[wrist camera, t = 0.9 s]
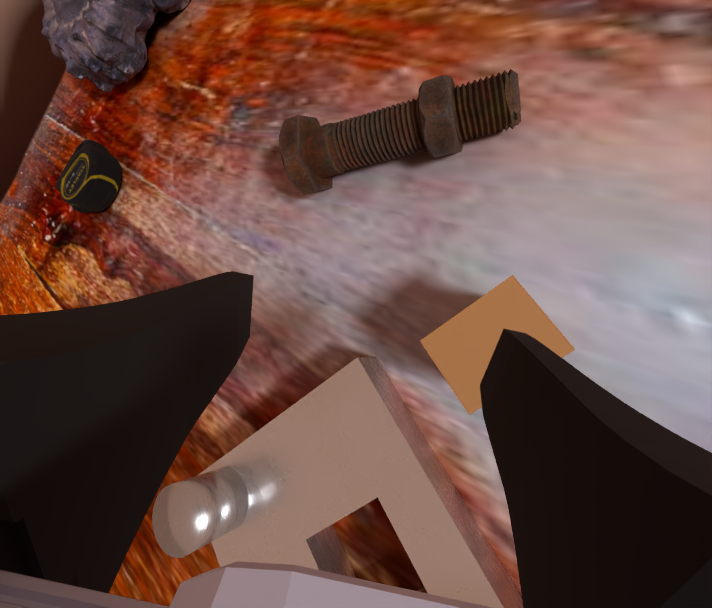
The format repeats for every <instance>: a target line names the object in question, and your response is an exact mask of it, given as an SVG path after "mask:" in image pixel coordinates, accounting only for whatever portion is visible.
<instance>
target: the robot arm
mask: <svg viewBox="0 0 712 608" xmlns="http://www.w3.org/2000/svg"><path fill="white" fill-rule="evenodd" d="M252 292H253V276H252V275H248V274H243V273H238V272H233V271H232V272H226V273H221V274H218V275H214V276H211V277H208V278H204V279H201V280H198V281H195V282H191V283H188V284H185V285H182V286H178V287H175V288H171V289H168V290H164V291H160V292H156V293H153V294H149V295H145V296H141V297H137V298H133V299H128V300H124V301H119V302H113V303H108V304H102V305H97V306H90V307H83V308H75V309H66V310H58V311H49V312H41V313H29V314H15V315H0V608H492V607H487V606H483V605H478V604H474V603H469V602H464V601H460V600H455V599H450V598H446V597H441V596H437V595H432V594H427V593H423V592H418V591H413V590H409V589H404V588H400V587H395V586H390V585H386V584H381V583H376V582H372V581H367V580H363V579H358V578H353V577H349V576H344V575H339V574H335V573H330V572H326V571H321V570H316V569H312V568H307V567H302V566H298V565H290V564H274V563H257V562H240V561H237V562H234V563H231V564H228V565H225V566H222V567H220V568H217V569H214V570H211V571H208V572H205V573H203V574H200V575H197V576H195V577H193V578H191V579H188V580H186V581H184V582H182V583H181V584H180V586H179V588H178V590H177V592H176V594H175V596H174V598H173V600H172V602H171V604H170V606H169V607H168V606H164V605H159V604H155V603H150V602H145V601H141V600H136V599H132V598H127V597H122V596H118V595H113V594H109V591H110V588H111V586H112V584H113V582H114V580H115V578H116V575H117V573H118V571H119V569H120V567H121V565H122V562H123V560H124V558H125V556H126V554H127V552H128V550H129V548H130V546H131V543H132V541H133V539H134V537H135V535H136V533H137V531H138V529H139V527H140V525H141V523H142V521H143V519H144V517H145V515H146V513H147V511H148V509H149V507H150V505H151V503H152V501H153V499H154V497H155V495H156V493H157V491H158V489H159V487H160V485H161V483H162V481H163V480H164V478H165V476H166V474H167V472H168V470H169V468H170V466H171V464H172V463H173V461H174V459H175V457H176V455H177V453H178V452H179V450H180V448H181V446H182V444H183V442H184V441H185V439H186V437H187V435H188V434H189V432H190V431H191V429H192V427H193V426H194V424H195V423H196V421H197V420H198V418H199V417H200V416H201V414H202V413H203V411H204V410H205V408H206V407H207V405H208V404H209V403H210V401H211V400H212V398H213V397H214V395H215V394H216V393H217V391H218V390H219V388H220V387H221V385H222V384H223V383H224V381H225V380H226V378H227V377H228V375H229V374H230V372H231V371H232V369H233V368H234V366H235V365H236V363H237V361H238V359H239V357H240V355H241V353H242V352H243V349H244V347H245V345H246V343H247V341H248V339H249V337H250V322H251V307H252ZM480 393H481V403H482V410H483V416H484V420H485V424H486V428H487V431H488V435H489V439H490V442H491V446H492V449H493V453H494V456H495V459H496V463H497V466H498V470H499V473H500V477H501V480H502V484H503V487H504V491H505V495H506V500H507V504H508V508H509V514H510V520H511V526H512V532H513V537H514V543H515V550H516V557H517V564H518V571H519V578H520V585H521V593H522V601H523V608H712V453H711V452H709V451H707V450H705V449H703V448H701V447H699V446H697V445H695V444H693V443H691V442H689V441H688V440H686V439H684V438H682V437H680V436H679V435H677V434H675V433H673V432H671V431H670V430H668V429H666V428H664V427H663V426H661V425H659V424H658V423H656V422H654V421H653V420H651V419H649V418H648V417H646V416H644V415H643V414H641V413H639V412H638V411H636V410H635V409H633V408H632V407H630V406H628V405H627V404H625V403H624V402H622V401H621V400H619V399H618V398H616V397H615V396H614V395H612V394H611V393H609V392H608V391H606V390H605V389H603V388H602V387H600V386H599V385H598V384H596V383H595V382H593V381H592V380H591V379H589V378H588V377H587V376H585V375H584V374H582V373H581V372H580V371H578V370H577V369H576V368H574V367H573V366H572V365H570V364H569V363H568V362H566V361H565V360H564V359H562V358H561V357H560V356H558V355H557V354H556V353H554V352H553V351H552V350H550V349H549V348H548V347H546V346H545V345H544V344H542V343H541V342H539V341H538V340H536V339H535V338H533V337H532V336H530V335H528V334H526V333H523V332H518V331H513V330H509V329H503V331H502V334H501V336H500V338H499V341H498V343H497V345H496V348H495V350H494V353H493V355H492V357H491V360H490V362H489V364H488V367H487V369H486V371H485V374H484V376H483V379H482V381H481V383H480Z"/></svg>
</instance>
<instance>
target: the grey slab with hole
mask: <svg viewBox="0 0 712 608" xmlns="http://www.w3.org/2000/svg"><path fill="white" fill-rule="evenodd" d="M377 497H378V499H379V501H380V503H381V505H382V507H383V509H384V511H385V512H386V514H387V516H388V518H389V520H390V522H391V524H392V526H393V528H394V530H395V532H396V533H397V535H398V537H399V539H400V541H401V543H402V545H403V547H404V549H405V551H406V553H407V554H408V556H409V558H410V560H411V562H412V564H413V566H414V568H415V570H416V572H417V574H418V575H419V577H420V579H421V581H422V583H423V585H424V587H423V588H421V589H419V590H417V591H418V592H423V593H427V594H432V595H437V596H441V597H446V598H450V599H455V600H460V601H464V602H469V603H474V604H478V605H483V606H487V607H492V608H523V601H522V597H521V595H520V594H519V592H518V590H517V589H516V587H515V586H514V584H513V582H512V581H511V579H510V577H509V576H508V574H507V572H506V571H505V569H504V567H503V566H502V564H501V562H500V561H499V559H498V557H497V556H496V554H495V553H494V551H493V549H492V548H491V546H490V544H489V543H488V541H487V539H486V538H485V536H484V534H483V533H482V531H481V529H480V528H479V526H478V524H477V523H476V521H475V520H474V518H473V516H472V515H471V513H470V511H469V510H468V508H467V506H466V505H465V503H464V501H463V500H462V498H461V496H460V495H459V493H458V491H457V490H456V488H455V486H454V485H453V483H452V482H451V480H450V478H449V477H448V475H447V473H446V472H445V470H444V468H443V467H442V465H441V463H440V462H439V460H438V458H437V457H436V455H435V453H434V452H433V450H432V449H431V447H430V445H429V444H428V442H427V440H426V439H425V437H424V435H423V434H422V432H421V430H420V429H419V427H418V425H417V424H416V422H415V420H414V419H413V417H412V416H411V414H410V412H409V411H408V409H407V407H406V406H405V404H404V402H403V401H402V399H401V397H400V396H399V394H398V392H397V391H396V389H395V387H394V386H393V384H392V382H391V381H390V379H389V378H388V376H387V374H386V373H385V371H384V369H383V368H382V366H381V364H380V363H379V361H378V359H377V358H363V357H357V358H356V359H354V360H353V361H352V362H350V363H349V364H348V365H346V366H345V367H344V368H342V369H341V370H340V371H338V372H337V373H335V374H334V375H333V376H331V377H330V378H329V379H327V380H326V381H325V382H323V383H322V384H321V385H319V386H318V387H316V388H315V389H314V390H312V391H311V392H310V393H308V394H307V395H306V396H304V397H303V398H302V399H300V400H299V401H298V402H296V403H295V404H293V405H292V406H291V407H289V408H288V409H287V410H285V411H284V412H283V413H281V414H280V415H279V416H277V417H276V418H274V419H273V420H272V421H270V422H269V423H268V424H266V425H265V426H264V427H262V428H261V429H260V430H258V431H257V432H255V433H254V434H253V435H251V436H250V437H249V438H247V439H246V440H245V441H243V442H242V443H241V444H239V445H238V446H236V447H235V448H234V449H232V450H231V451H230V452H228V453H227V454H226V455H224V456H223V457H222V458H220V459H219V460H217V461H216V462H215V463H213V464H212V465H211V466H209V467H208V468H207V469H205V470H204V471H203V472H201V473H200V474H198V475H197V476H195V477H192V478H189V479H185V480H182V481H179V482H176V483H173V484H170V485H168V486H166V487H165V488H163V489H162V490H161V492H160V493H159V494H158V496H157V498H156V501H155V504H154V507H153V515H152V523H153V530H154V534H155V537H156V540H157V542H158V544H159V546H160V547H161V549H162V550H163V551H164V552H165V553H166V554H167V555H169V556H171V557H173V558H182V557H184V556H186V555H188V554H190V553H192V552H194V551H195V550H197V549H199V548H201V547H203V546H205V545H207V544H208V543H210V542H212V545H213V548H214V551H215V553H216V556H217V559H218V562H219V565H220V567H222V566H225V565H228V564H231V563H234V562H237V561H240V562H257V563H274V564H290V565H298V566H302V567H307V568H312V569H316V570H321V571H326V572H330V573H335V574H339V575H344V576H349V577H353V578H357V577H356V575H355V572H354V570H353V568H352V566H351V564H350V562H349V560H348V557H347V555H346V553H345V551H344V549H343V547H342V545H341V542H340V540H339V538H338V536H337V534H336V532H335V530H334V527H333V525H332V524H333V523H335V522H337V521H338V520H340V519H342V518H343V517H345V516H347V515H348V514H350V513H352V512H354V511H355V510H357V509H359V508H360V507H362V506H364V505H365V504H367V503H369V502H370V501H372V500H374V499H376V498H377Z"/></svg>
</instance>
